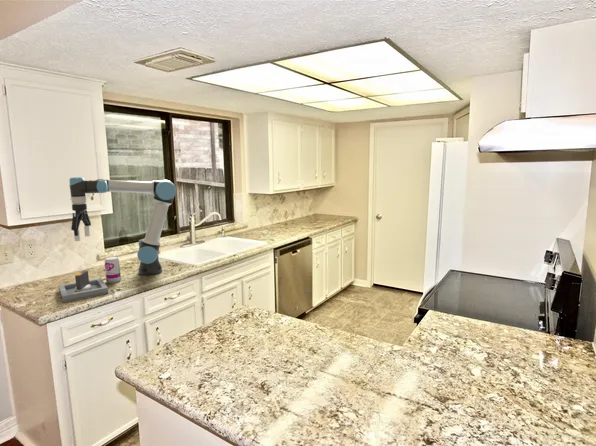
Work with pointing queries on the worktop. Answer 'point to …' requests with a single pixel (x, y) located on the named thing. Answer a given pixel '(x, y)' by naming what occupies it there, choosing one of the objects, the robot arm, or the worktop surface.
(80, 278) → the dial
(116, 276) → the supplement can
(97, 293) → the dial panel
